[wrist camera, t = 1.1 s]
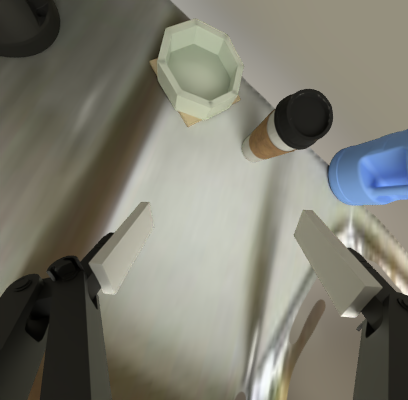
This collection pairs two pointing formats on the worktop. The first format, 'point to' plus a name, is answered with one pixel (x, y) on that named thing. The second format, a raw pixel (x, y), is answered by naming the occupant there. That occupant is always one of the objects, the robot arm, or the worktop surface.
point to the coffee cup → (290, 126)
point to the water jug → (371, 171)
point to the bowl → (198, 70)
